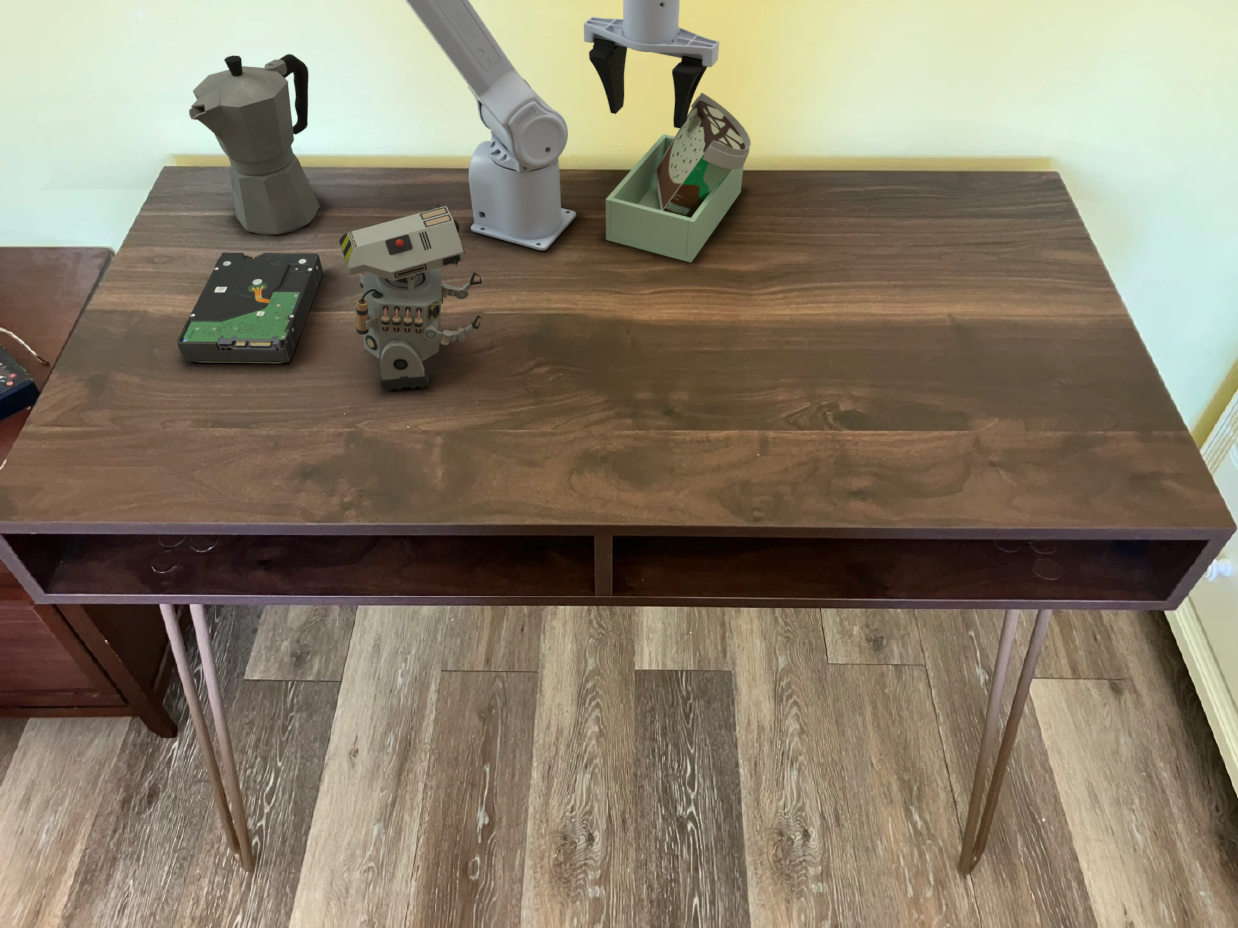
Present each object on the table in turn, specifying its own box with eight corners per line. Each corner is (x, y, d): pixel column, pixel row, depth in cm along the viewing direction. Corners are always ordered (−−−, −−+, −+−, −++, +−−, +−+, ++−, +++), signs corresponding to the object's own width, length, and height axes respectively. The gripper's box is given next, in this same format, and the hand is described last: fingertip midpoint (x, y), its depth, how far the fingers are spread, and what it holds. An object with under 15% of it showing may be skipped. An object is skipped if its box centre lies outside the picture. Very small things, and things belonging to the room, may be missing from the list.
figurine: (490, 383, 88) (472, 247, 77) (365, 394, 86) (329, 257, 75) (487, 323, 94) (470, 188, 83) (370, 332, 93) (337, 197, 82)
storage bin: (605, 239, 104) (605, 199, 100) (661, 172, 113) (663, 133, 110) (691, 262, 101) (694, 221, 97) (740, 192, 110) (745, 152, 107)
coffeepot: (265, 254, 101) (213, 93, 88) (205, 229, 105) (146, 70, 92) (362, 190, 110) (328, 35, 97) (304, 168, 114) (263, 15, 101)
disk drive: (227, 274, 99) (183, 365, 89) (219, 251, 97) (173, 342, 87) (325, 274, 99) (292, 364, 89) (319, 251, 97) (285, 341, 87)
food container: (709, 243, 103) (763, 169, 97) (662, 220, 100) (714, 142, 94) (697, 187, 111) (746, 115, 105) (653, 164, 109) (701, 90, 103)
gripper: (733, -15, 94) (722, 114, 104) (603, -38, 98) (604, 88, 108) (708, 10, 89) (699, 143, 99) (573, -15, 94) (577, 115, 104)
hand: (648, 116), depth 103 cm, fingers open, 7 cm apart
